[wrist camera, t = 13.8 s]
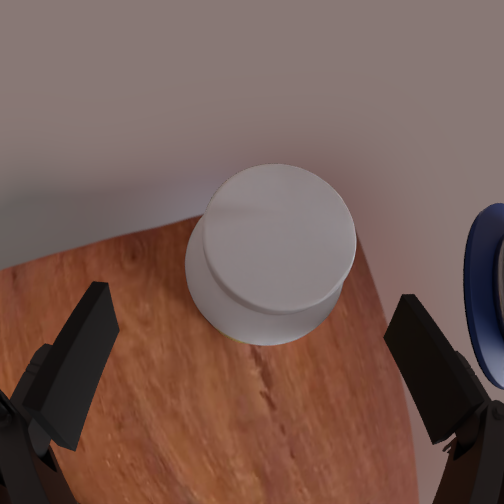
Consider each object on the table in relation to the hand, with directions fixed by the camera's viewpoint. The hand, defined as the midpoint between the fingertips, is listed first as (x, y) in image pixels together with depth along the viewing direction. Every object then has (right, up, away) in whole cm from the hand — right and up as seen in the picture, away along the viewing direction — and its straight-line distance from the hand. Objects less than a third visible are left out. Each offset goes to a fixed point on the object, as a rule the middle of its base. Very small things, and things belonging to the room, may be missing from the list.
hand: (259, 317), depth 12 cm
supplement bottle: (0, 0, +9) cm, 9 cm away
